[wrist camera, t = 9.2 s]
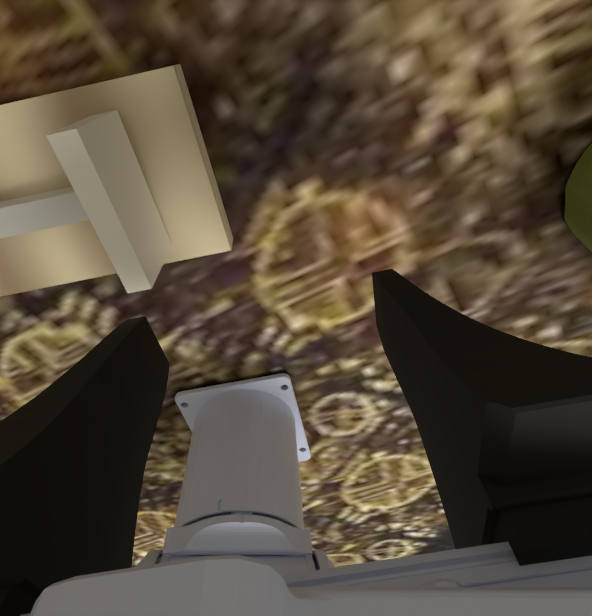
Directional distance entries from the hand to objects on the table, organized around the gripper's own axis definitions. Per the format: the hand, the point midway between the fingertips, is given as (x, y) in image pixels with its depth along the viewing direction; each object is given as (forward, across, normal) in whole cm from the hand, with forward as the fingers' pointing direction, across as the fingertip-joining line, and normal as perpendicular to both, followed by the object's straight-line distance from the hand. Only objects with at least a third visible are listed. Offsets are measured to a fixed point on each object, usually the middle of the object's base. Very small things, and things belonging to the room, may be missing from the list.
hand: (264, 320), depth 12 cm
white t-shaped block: (+8, +9, -3) cm, 12 cm away
